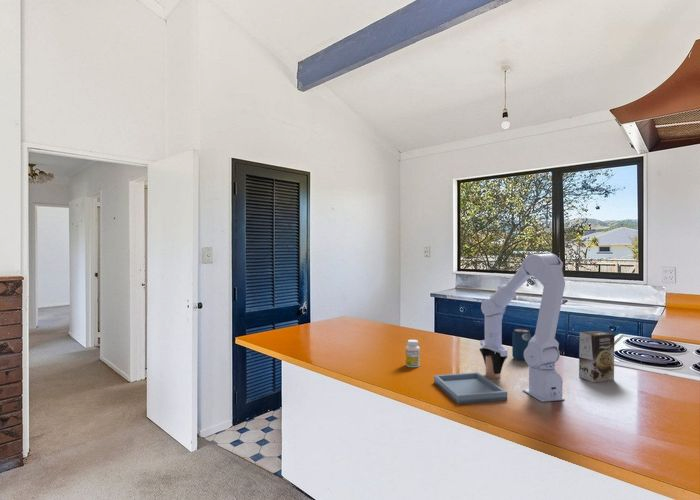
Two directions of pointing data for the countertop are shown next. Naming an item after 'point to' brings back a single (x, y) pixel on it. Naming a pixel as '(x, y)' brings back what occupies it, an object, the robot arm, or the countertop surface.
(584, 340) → the coffee box
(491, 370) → the pillar candle
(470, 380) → the tray
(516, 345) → the soda can
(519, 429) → the countertop surface
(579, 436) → the countertop surface
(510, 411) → the countertop surface
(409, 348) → the supplement bottle
